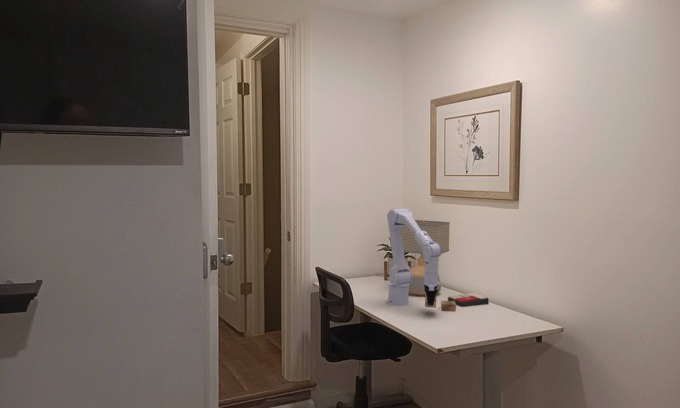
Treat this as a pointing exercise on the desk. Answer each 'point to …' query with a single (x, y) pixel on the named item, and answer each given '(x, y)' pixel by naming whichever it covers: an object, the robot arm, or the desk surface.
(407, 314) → the desk surface
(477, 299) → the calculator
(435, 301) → the oak cube
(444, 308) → the walnut slab
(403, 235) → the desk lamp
